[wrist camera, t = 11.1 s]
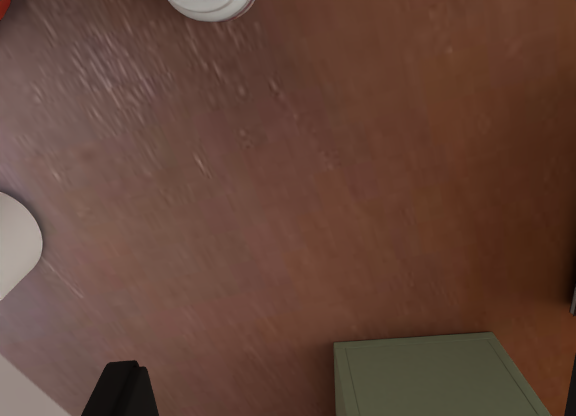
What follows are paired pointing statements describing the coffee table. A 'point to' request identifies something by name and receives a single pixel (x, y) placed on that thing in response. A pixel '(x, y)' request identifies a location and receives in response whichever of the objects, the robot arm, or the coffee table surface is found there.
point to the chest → (431, 378)
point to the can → (16, 243)
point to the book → (573, 303)
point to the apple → (4, 7)
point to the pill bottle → (212, 9)
